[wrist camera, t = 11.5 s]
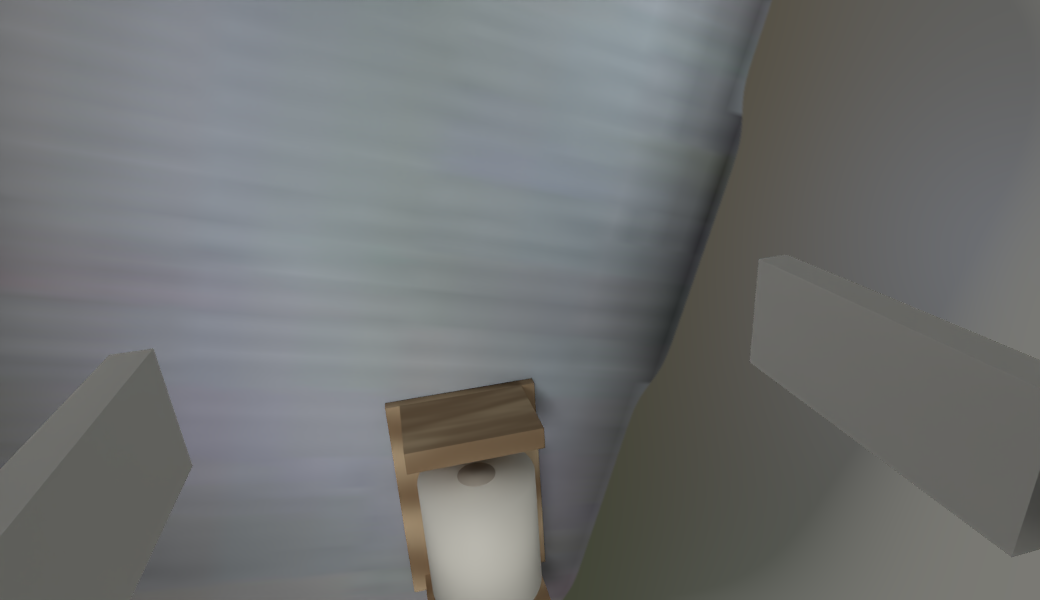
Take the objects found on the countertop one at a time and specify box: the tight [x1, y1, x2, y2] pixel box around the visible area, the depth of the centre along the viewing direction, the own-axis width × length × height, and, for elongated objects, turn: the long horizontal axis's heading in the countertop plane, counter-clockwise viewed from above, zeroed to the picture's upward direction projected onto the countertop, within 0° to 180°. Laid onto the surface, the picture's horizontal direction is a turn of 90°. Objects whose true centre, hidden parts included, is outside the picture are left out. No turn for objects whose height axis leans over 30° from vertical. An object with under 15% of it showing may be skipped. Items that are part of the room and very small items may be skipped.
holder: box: [385, 378, 551, 600], centre depth 43 cm, size 17×11×7 cm, turn 4°
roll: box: [417, 452, 542, 600], centre depth 41 cm, size 9×8×8 cm
